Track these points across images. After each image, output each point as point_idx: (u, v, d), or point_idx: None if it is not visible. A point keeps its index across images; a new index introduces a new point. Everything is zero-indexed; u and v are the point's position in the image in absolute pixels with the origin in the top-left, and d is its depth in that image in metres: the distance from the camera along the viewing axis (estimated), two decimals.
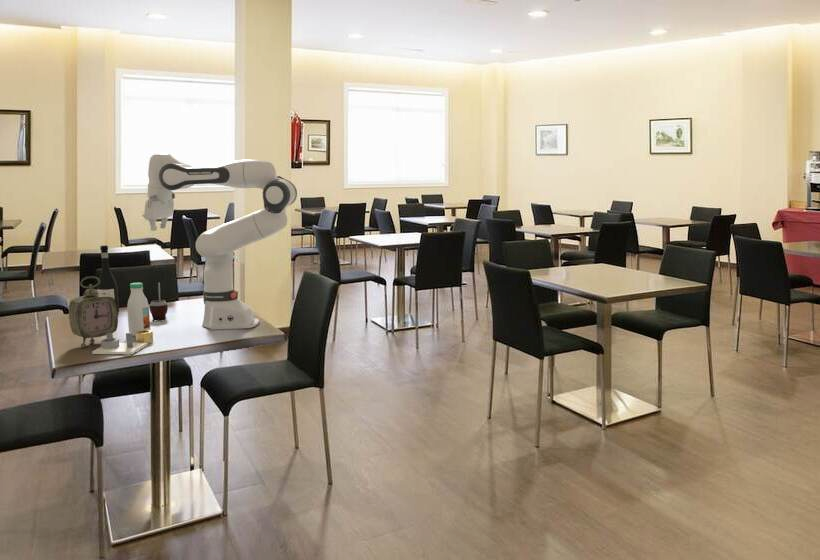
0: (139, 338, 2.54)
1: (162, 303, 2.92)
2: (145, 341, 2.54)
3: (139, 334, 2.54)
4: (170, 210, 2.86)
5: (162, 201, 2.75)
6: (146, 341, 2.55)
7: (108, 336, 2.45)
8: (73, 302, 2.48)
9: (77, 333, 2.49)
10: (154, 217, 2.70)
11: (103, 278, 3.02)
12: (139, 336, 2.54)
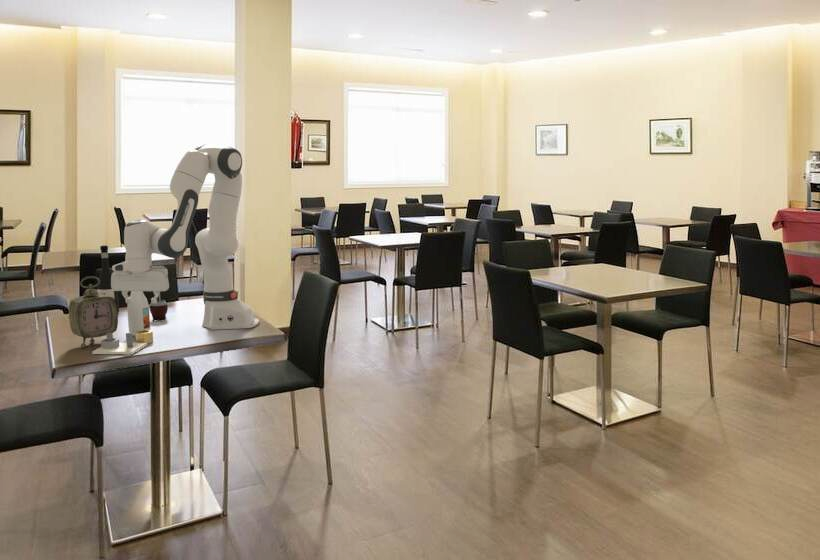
0: (139, 338, 2.54)
1: (162, 303, 2.92)
2: (145, 341, 2.54)
3: (139, 334, 2.54)
4: None
5: None
6: (146, 341, 2.55)
7: (108, 336, 2.45)
8: (73, 302, 2.48)
9: (77, 333, 2.49)
10: None
11: (103, 278, 3.02)
12: (139, 336, 2.54)
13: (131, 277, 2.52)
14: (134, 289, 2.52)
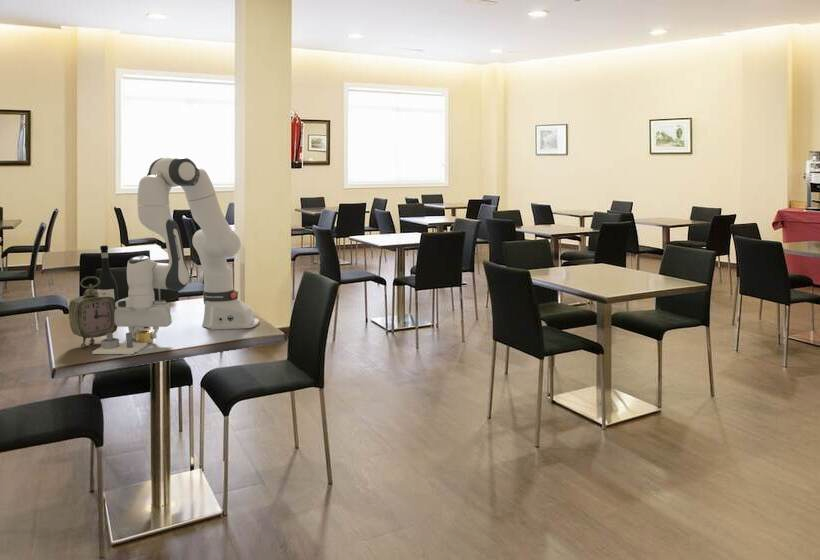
0: (139, 338, 2.54)
1: None
2: (145, 341, 2.54)
3: (139, 334, 2.54)
4: None
5: None
6: (146, 341, 2.55)
7: (108, 336, 2.45)
8: (73, 302, 2.48)
9: (77, 333, 2.49)
10: None
11: (103, 278, 3.02)
12: (139, 336, 2.54)
13: (134, 313, 2.54)
14: (137, 325, 2.54)
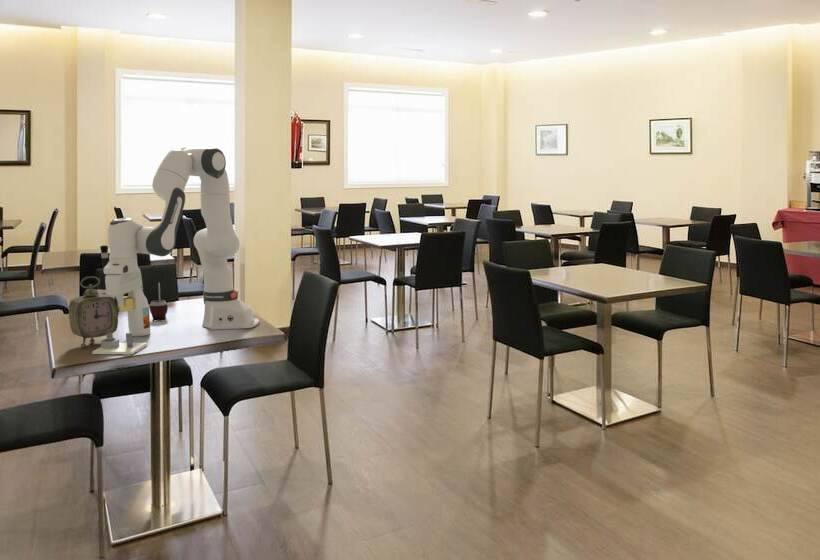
0: (133, 303, 2.43)
1: (162, 303, 2.92)
2: None
3: (132, 299, 2.43)
4: None
5: None
6: None
7: (108, 336, 2.45)
8: (73, 302, 2.48)
9: (77, 333, 2.49)
10: None
11: (103, 278, 3.02)
12: (133, 301, 2.43)
13: (125, 278, 2.40)
14: (128, 290, 2.41)
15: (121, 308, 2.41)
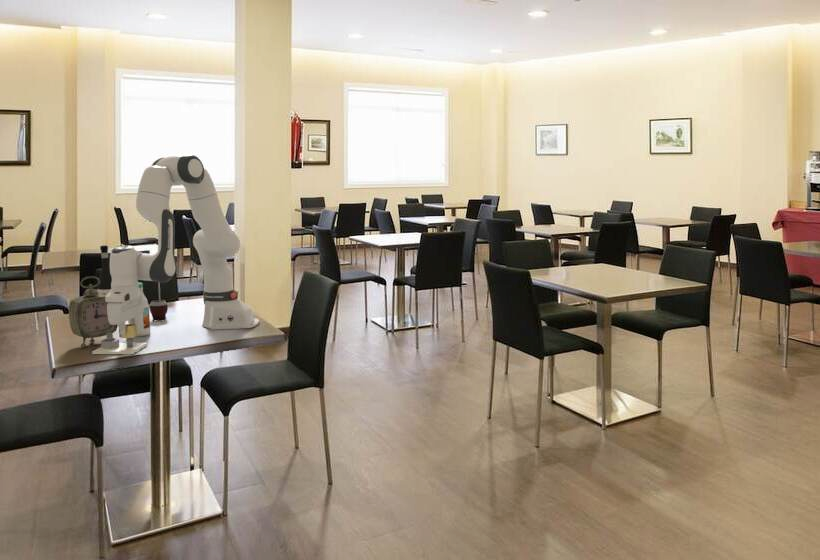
0: (134, 330, 2.44)
1: (162, 303, 2.92)
2: None
3: (134, 326, 2.44)
4: None
5: None
6: None
7: (108, 336, 2.45)
8: (73, 302, 2.48)
9: (77, 333, 2.49)
10: None
11: (103, 278, 3.02)
12: (134, 328, 2.44)
13: (127, 306, 2.41)
14: (130, 317, 2.43)
15: (123, 335, 2.43)
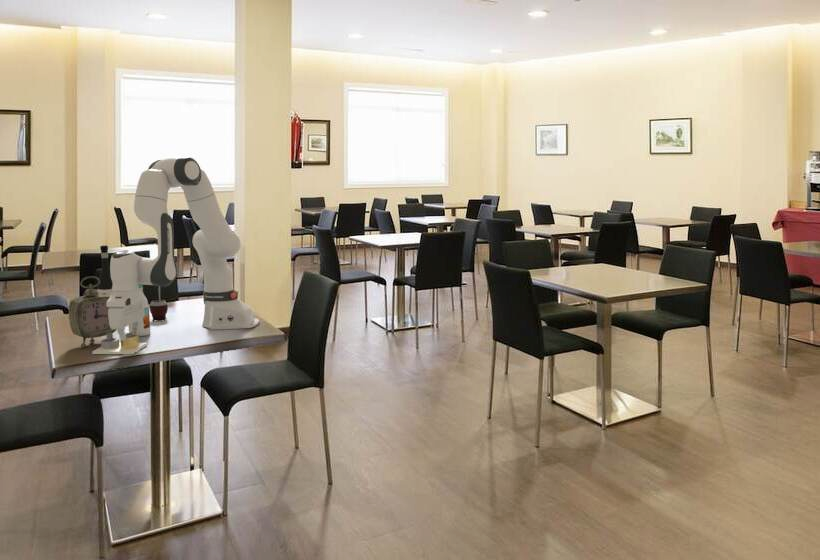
0: (136, 341, 2.45)
1: (162, 303, 2.92)
2: None
3: (135, 337, 2.45)
4: None
5: None
6: None
7: (108, 336, 2.45)
8: (73, 302, 2.48)
9: (77, 333, 2.49)
10: None
11: (103, 278, 3.02)
12: (136, 339, 2.45)
13: (128, 310, 2.41)
14: (131, 322, 2.43)
15: (124, 346, 2.43)
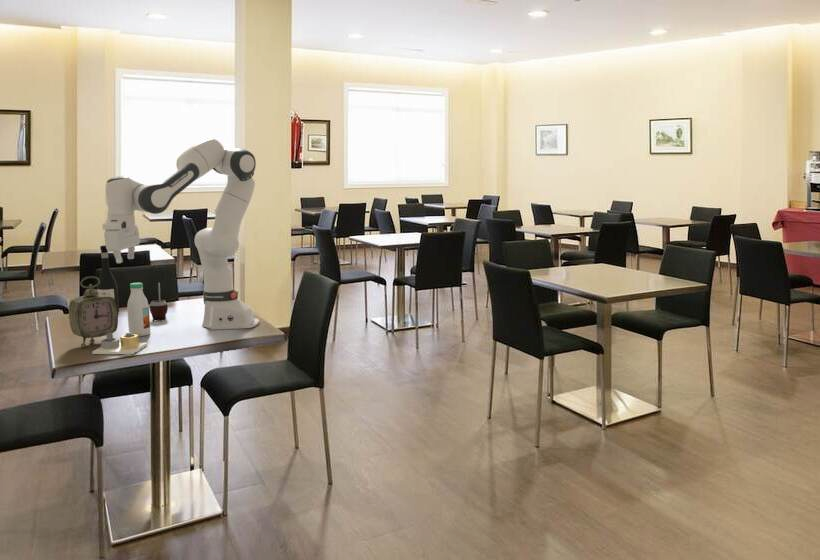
0: (136, 341, 2.45)
1: (162, 303, 2.92)
2: None
3: (135, 337, 2.45)
4: None
5: None
6: None
7: (108, 336, 2.45)
8: (73, 302, 2.48)
9: (77, 333, 2.49)
10: None
11: (103, 278, 3.02)
12: (136, 339, 2.45)
13: (124, 234, 2.48)
14: (127, 246, 2.49)
15: (124, 346, 2.43)
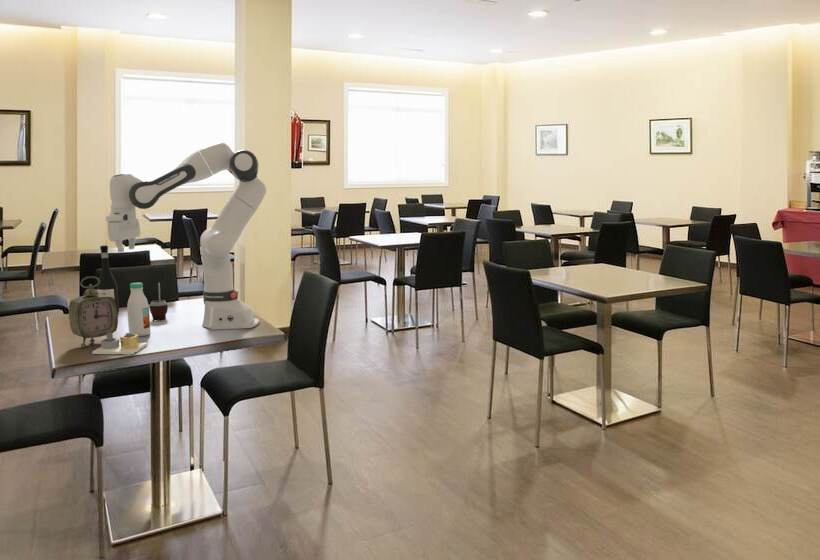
0: (136, 341, 2.45)
1: (162, 303, 2.92)
2: None
3: (135, 337, 2.45)
4: None
5: None
6: None
7: (108, 336, 2.45)
8: (73, 302, 2.48)
9: (77, 333, 2.49)
10: None
11: (103, 278, 3.02)
12: (136, 339, 2.45)
13: (125, 226, 2.71)
14: (128, 237, 2.73)
15: (124, 346, 2.43)
